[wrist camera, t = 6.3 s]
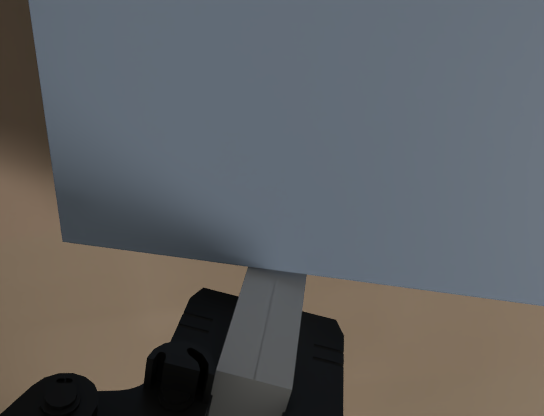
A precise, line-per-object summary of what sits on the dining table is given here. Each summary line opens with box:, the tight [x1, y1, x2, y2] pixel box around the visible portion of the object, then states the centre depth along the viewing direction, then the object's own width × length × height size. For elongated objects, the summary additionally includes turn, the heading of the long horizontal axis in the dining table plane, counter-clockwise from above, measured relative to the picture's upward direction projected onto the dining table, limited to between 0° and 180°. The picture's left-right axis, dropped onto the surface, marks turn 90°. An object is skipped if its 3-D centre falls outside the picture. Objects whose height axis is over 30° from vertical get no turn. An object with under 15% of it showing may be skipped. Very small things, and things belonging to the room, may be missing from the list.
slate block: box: [28, 0, 544, 306], centre depth 12 cm, size 10×12×5 cm
